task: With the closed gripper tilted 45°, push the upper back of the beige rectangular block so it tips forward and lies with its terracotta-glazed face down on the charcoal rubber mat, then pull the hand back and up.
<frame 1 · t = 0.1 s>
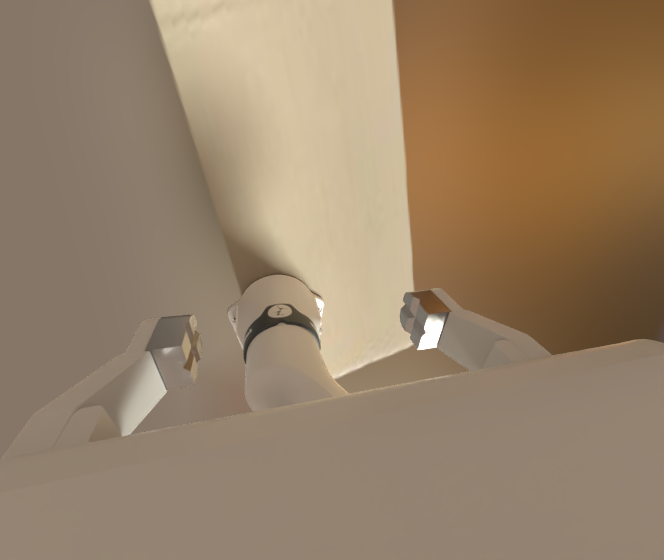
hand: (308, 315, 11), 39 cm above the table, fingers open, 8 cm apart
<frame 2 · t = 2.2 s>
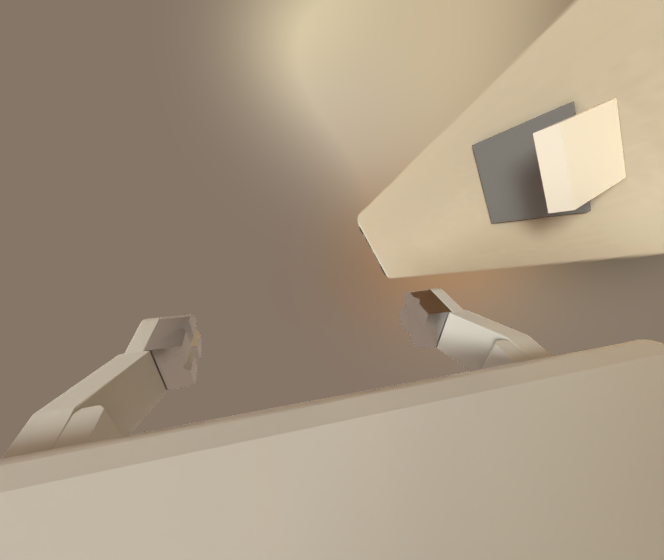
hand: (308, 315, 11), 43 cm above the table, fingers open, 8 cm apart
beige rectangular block: (607, 143, 33), on the table
charcoal mat: (525, 173, 42), on the table
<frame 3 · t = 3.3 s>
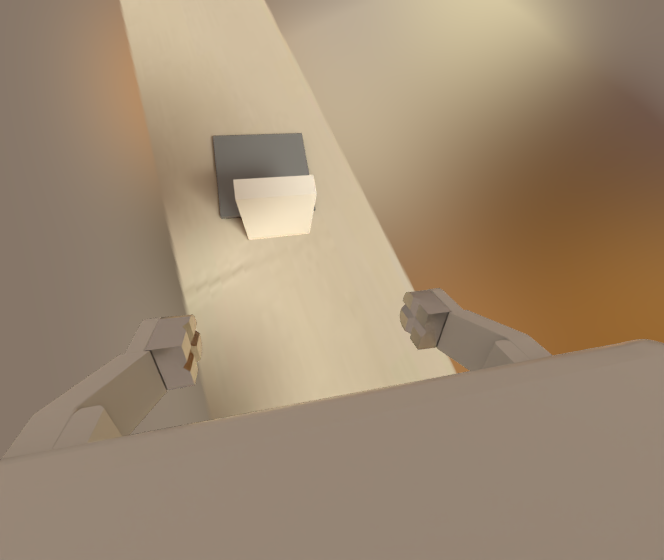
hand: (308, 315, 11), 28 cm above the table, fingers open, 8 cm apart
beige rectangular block: (278, 229, 41), on the table
charcoal mat: (264, 174, 43), on the table
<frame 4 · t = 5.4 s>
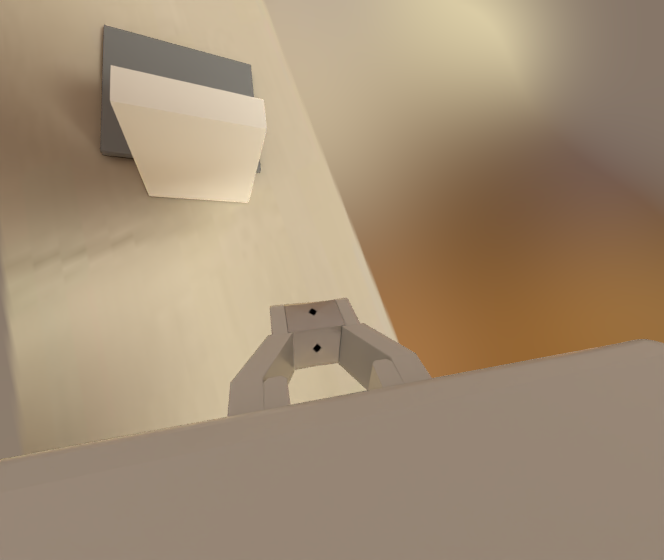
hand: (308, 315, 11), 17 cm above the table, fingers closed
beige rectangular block: (201, 188, 28), on the table
charcoal mat: (187, 105, 29), on the table
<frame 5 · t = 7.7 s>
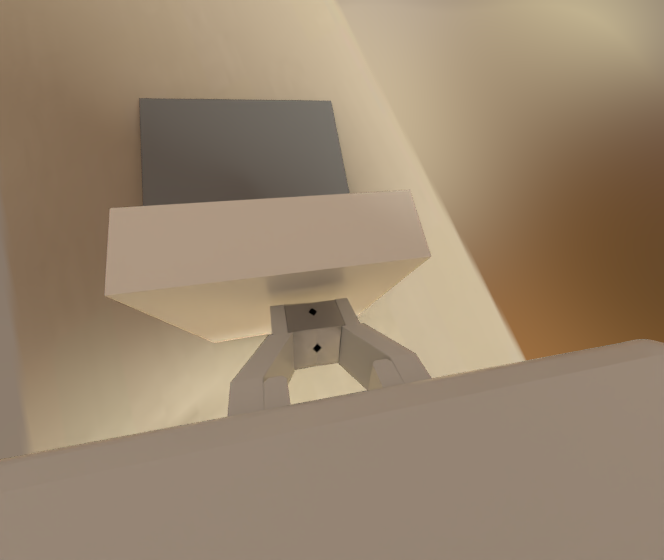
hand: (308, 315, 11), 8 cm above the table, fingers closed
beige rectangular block: (283, 312, 18), on the table, tilted 6°
charcoal mat: (252, 186, 20), on the table
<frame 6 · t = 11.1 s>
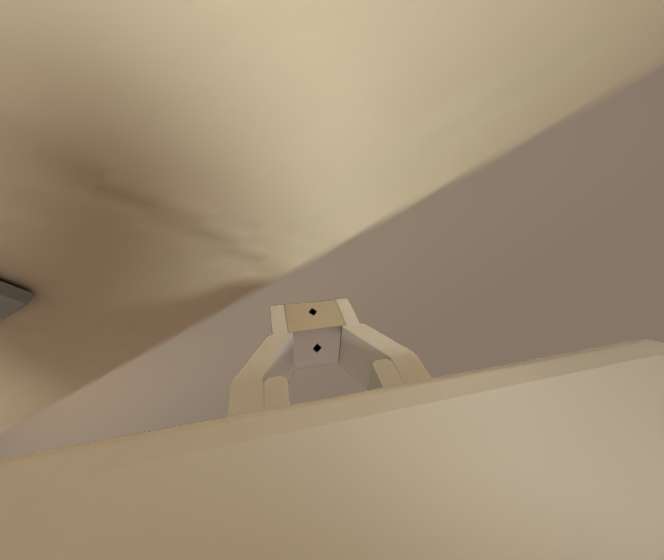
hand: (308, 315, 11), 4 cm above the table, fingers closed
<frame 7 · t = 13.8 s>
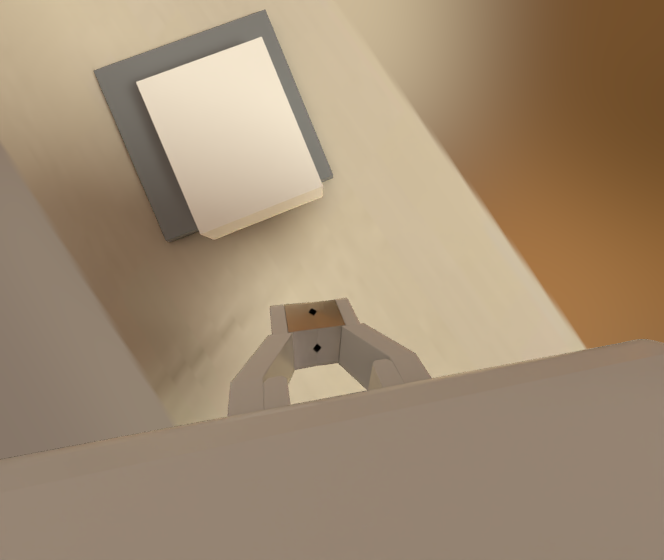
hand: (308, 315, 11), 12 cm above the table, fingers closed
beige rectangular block: (265, 214, 20), point 2 cm above the table, tilted 90°, touching charcoal mat
charcoal mat: (218, 128, 22), on the table
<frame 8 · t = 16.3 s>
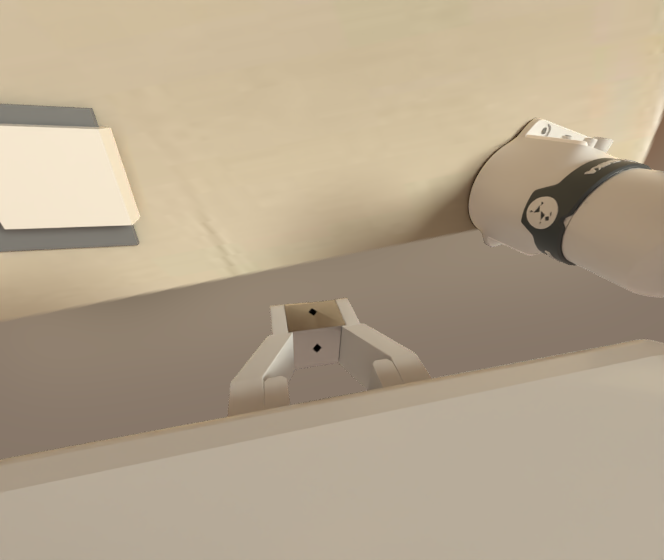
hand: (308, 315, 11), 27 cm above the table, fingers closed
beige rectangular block: (121, 178, 28), point 2 cm above the table, tilted 90°, touching charcoal mat
charcoal mat: (41, 184, 28), on the table
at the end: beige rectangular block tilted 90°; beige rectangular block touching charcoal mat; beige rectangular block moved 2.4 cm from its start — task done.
